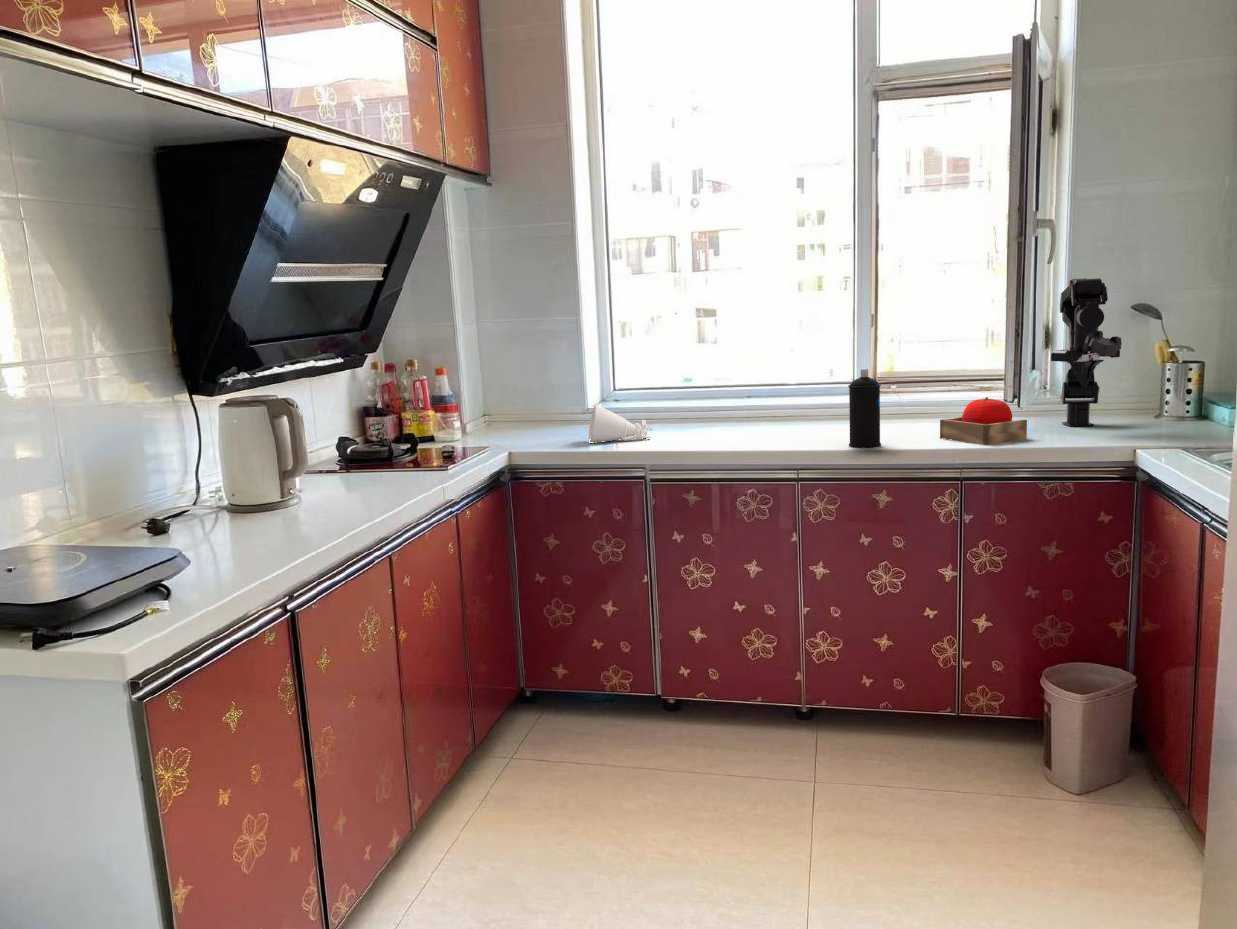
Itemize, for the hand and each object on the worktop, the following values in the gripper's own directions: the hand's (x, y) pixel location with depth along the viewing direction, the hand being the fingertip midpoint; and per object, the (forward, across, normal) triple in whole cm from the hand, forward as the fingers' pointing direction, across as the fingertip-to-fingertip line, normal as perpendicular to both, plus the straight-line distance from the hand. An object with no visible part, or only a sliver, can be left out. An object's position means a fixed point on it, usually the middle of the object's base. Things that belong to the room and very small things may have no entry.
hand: (1084, 386), depth 255 cm
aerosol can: (+12, -57, +18) cm, 61 cm away
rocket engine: (+12, -106, +68) cm, 127 cm away
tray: (+12, -27, +7) cm, 30 cm away
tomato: (+12, -26, +7) cm, 30 cm away
